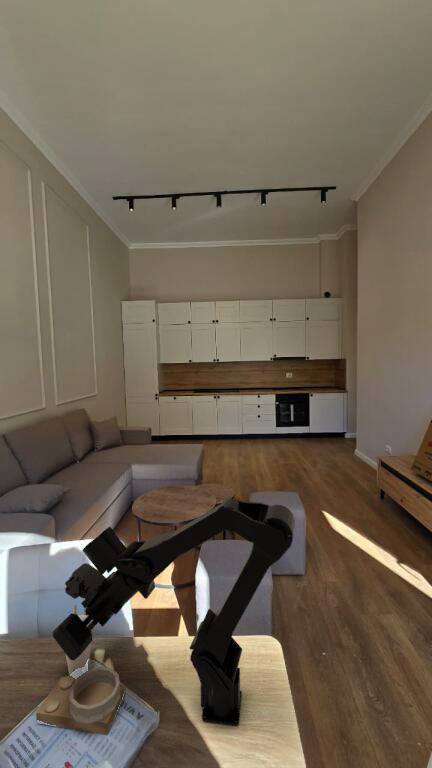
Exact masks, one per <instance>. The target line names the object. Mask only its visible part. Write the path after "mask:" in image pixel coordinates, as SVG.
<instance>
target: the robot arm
mask: <svg viewBox="0 0 432 768" xmlns="http://www.w3.org/2000/svg"><path fill="white" fill-rule="evenodd" d="M295 525H296V519H295V516H294V514H293V513H292V511H291V510H290V509H289V508H288V507H286V506H284V505H282V504H273V505H269V504H267V503H263V502H256V501H242V500H239V499H236V498H227V499H224V500H223V501H222V502H221V503H220V504H219V505H217V506H215V507H214V508H212V509H210V510H208V511H207V512H205V513H204V514H201V515H200V516H199V517H197V518H195V519H193V520H191V521H190V522H188V523H187V524H185V525H183V526H181V527H179V528H178V529H176V530H174V531H171V532H167V533H165V532H164V533H161V534H158V535H156V536H152V537H150V538H148V539H147V540H140V541H139V540H136V541H135V540H134V541H132V542H131V543H130V544H128V546H126V545H125V544H124V543H123V542H122V541H121V539H120V537H118V535H117V534H116V532H115V530H114V529H113V528H112V527H111V526H108V527H107V528H105V529H104V530H103V531H102V532H100V534H99V535H97V536H96V537H95V538H94V539H92V540H91V541H90V542H88V544H86V545H85V546H84V548H82V550H81V551H82V552H83V553H84V555H85V557H87V559H88V560H89V561H90V562H91V563H92V565H91V564H90V563H83V564H81V565H80V566H79V567H77V568H76V569H75V570H74V571H73V572H72V573H71V576H70V577H68V579H67V580H66V581H65V582H64V585H65V586H66V587H65V589H64V591H65V594H67V595H68V596H69V597H71V598H73V599H74V600H75V599H78V598H79V597H80V598H81V599H84V600H82V601H81V602H80V604H81V605H82V606H83V608H84V615H88V616H87V617H86V619H85V620H84V621H82V620H81V619H80V617H79V616H78V614H74V613H70V614H69V615H68V616H67V617H66V618H65V619H64V620H63V621H62V622H61V623H60V624H59V625H58V626H57V627H56V628H55V629H54V630H53V631H52V638H54V640H55V642H56V643H57V644H58V645H59V646H60V648H61V649H62V651H63V652H64V653H65V656H66V655H67V656H68V657H69V659H70V660H76V659H77V658H78V657H79V656H80V655H81V654H82V653H83V651H84V650H85V649H86V648H87V647H88V645H89V644H90V643H91V644H92V642H93V631H92V629H93V628H94V629H95V627H96V626H97V625H98V624H100V626H101V628H103V627H104V626H105V625H106V624H107V623H108V621H110V620H111V618H112V617H113V616H114V615H115V616H116V615H117V614H118V613H119V612H120V611H121V610H122V608H123V607H124V606H125V605H126V604H127V602H129V601H130V600H131V599H132V598H133V597H134V596H135V595H136V594H138V593H139V594H141V596H142V597H143V598H144V599H145V600H147V599H148V598H149V597H150V595H151V594H152V593H153V591H154V590H155V588H156V585H155V584H156V583H155V579H156V578H157V577H159V576H160V574H162V573H163V572H164V571H165V570H166V569H167V568H168V567H169V566H170V565H172V563H173V562H174V561H176V559H177V558H179V557H180V556H182V555H184V554H186V553H187V552H190V551H191V550H193V549H195V548H196V547H198V546H199V545H202V544H204V543H205V542H207V541H208V540H210V539H212V538H214V537H215V536H217V535H219V534H221V533H222V532H225V531H226V530H227V531H231V532H234V533H235V534H237V535H238V536H239V537H241V538H243V539H244V540H246V541H247V542H250V543H252V546H251V551H250V553H249V554H248V556H247V558H246V560H245V562H244V563H243V565H242V567H241V569H240V571H239V572H238V575H236V576H237V577H236V578H235V580H234V582H233V584H232V586H231V588H230V589H229V591H228V593H227V595H226V597H225V599H224V601H223V602H222V604H221V606H220V608H219V609H218V610H217V611H215V612H214V611H213V610H212V609H211V608H208V609H207V611H206V614H205V616H204V619H203V620H202V621H201V622H200V624H199V626H198V629H197V630H196V632H195V635H194V637H193V639H192V642H191V644H190V646H189V650H192V651H191V653H190V658H189V659H190V662H191V664H192V667H194V669H195V671H196V674H197V676H198V680H199V682H200V707H201V708H202V714H201V721H203V722H206V723H207V722H209V723H215V724H216V723H217V724H223V725H231V726H236V727H237V726H238V725H239V724H240V718H241V717H240V715H241V707H242V706H241V705H242V690H241V667H239V665H240V661H241V656H242V652H243V648H242V647H241V646H240V644H239V643H238V642H237V641H236V640H235V638H233V634H234V631H235V630H236V628H237V626H238V624H239V622H240V621H241V619H242V617H243V615H244V614H245V611H246V609H247V608H248V606H249V604H250V603H251V601H252V599H253V598H254V595H255V594H256V592H257V590H258V588H259V586H260V584H261V583H262V581H263V579H264V577H265V575H266V573H267V572H268V570H269V569H270V568H271V567H272V566H274V565H275V564H276V563H277V562H279V560H280V559H281V558H282V557H283V556H284V555H285V554H286V553H287V551H288V550H289V549H290V548H291V547H292V543H293V541H294V533H295V527H296V526H295ZM93 566H94V567H93ZM115 568H116V570H115V571H112V570H113V569H115ZM106 572H107V574H109V575H108V576H105V575H104V574H105V573H106ZM110 572H111V573H110ZM91 620H93V621H92V622H91V623H90V621H91ZM89 623H90V624H89ZM88 624H89V625H88ZM87 625H88V626H87ZM86 626H87V627H86ZM94 629H93V630H94Z"/></svg>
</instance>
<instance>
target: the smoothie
mask: <svg viewBox="0 0 432 768" xmlns="http://www.w3.org/2000/svg"><path fill="white" fill-rule="evenodd" d="M72 611H73V614H77V605H76V604H74V605H73V609H72ZM77 615H78V614H77ZM78 616H79V617H80V619H81V620H82V621H84V620H85V619H86V617H87V616H88V615H85V614H79V615H78ZM92 621H93V620H91V621H90V623H91V622H92ZM90 623H89V624H90ZM89 624H88V625H89ZM88 625H87V626H88ZM87 626H86V627H87ZM94 629H95V627H94V628H93V629H92V632H93V631H94ZM91 647H92V642H91V643H90V644H89V645H88V647H87V648H86V649H85V650H84V651H83V653H82V654H81V655H80V656H79V657H78V658H77V659H76V660H70V659H69V657H68V656H67V655H66V654H65V658H66V665H67V671H68V676H69V675H70V674H71V673H72V672H74V671H75V670H76V669H78V668H82V667H84V666H85V664H86V662H87V660H88V659H89V660H90V658H91Z"/></svg>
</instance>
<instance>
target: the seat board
mask: <svg viewBox="0 0 432 768" xmlns="http://www.w3.org/2000/svg"><path fill="white" fill-rule="evenodd" d="M124 691H125V692H126V685H125V684H123V683H122V684H121V683H120V676H119V673H117V672H116V671H115V670H114V669H113V668H112V667H106V666H97V667H95V668H91V669H88V671H86V672H85V673H83V674H82V675H81V676H79V677H78V678H77V679H75V678H73V677H72V676H69V675H67V676H60V678H59V679H58V680H57V682H56V683H55V685H54V686H53V687H52V689H51V691H50V692H49V694H48V695H47V697H46V698H45V700H44V701H43V702H42V704H41V705H40V707H39V708H38V710H36V713H35V714H36V721H37V720H39V721H42V722H44V723H47V724H50V725H56V726H59V727H58V728H60V727H62V728H61V729H67V730H74V731H81V732H86V733H94V734H100V735H108V734H109V732H110V729H111V727H112V725H113V723H114V721H115V719H114V718H116V716H117V714H116V713H118V712H117V710H118V707H119V705H120V702H121V700H122V697H123V694H124ZM120 706H121V705H120ZM119 708H120V707H119ZM118 711H119V710H118ZM115 715H116V716H115Z"/></svg>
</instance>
